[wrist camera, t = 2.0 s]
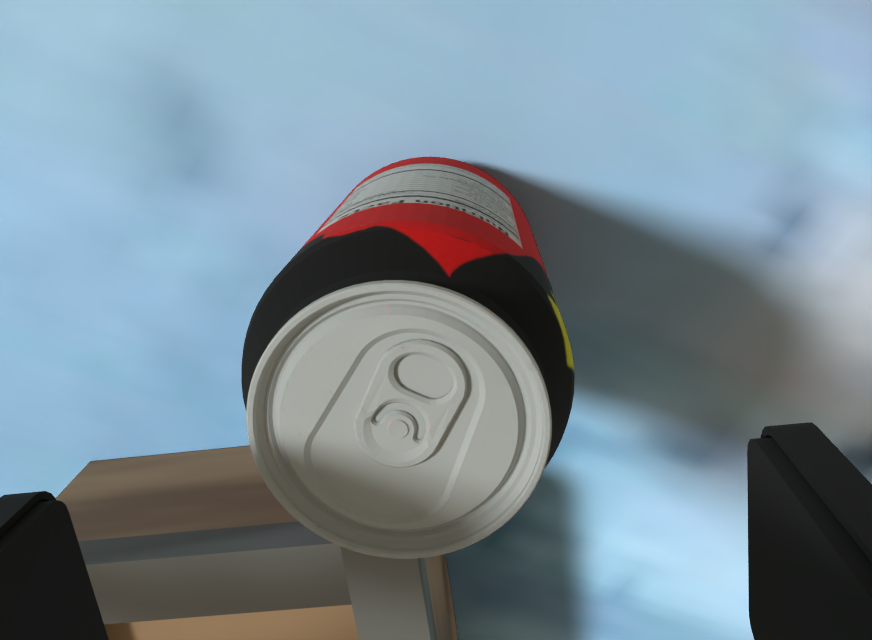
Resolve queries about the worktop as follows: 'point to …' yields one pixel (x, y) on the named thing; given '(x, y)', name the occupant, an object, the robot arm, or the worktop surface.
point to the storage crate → (236, 560)
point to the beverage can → (409, 365)
